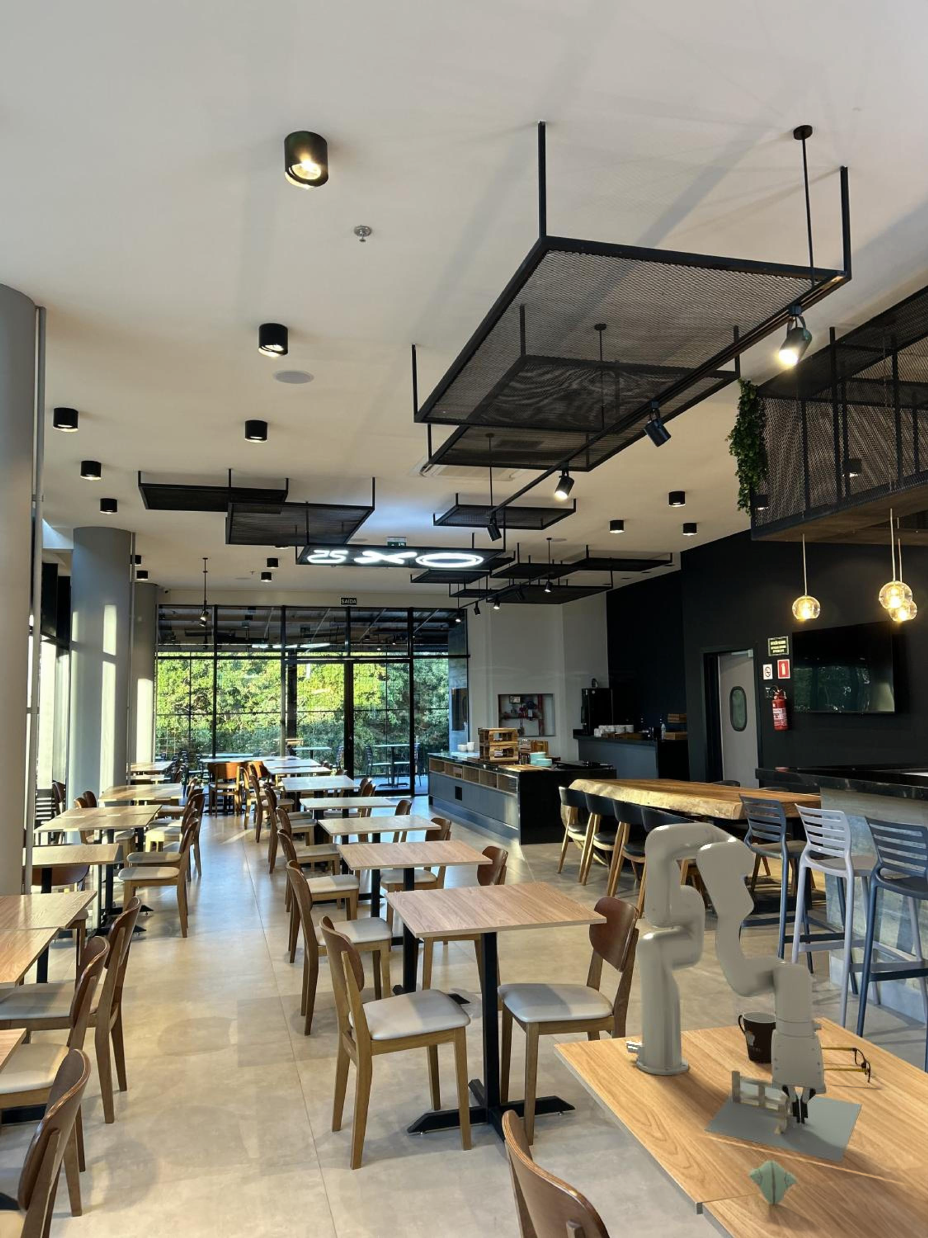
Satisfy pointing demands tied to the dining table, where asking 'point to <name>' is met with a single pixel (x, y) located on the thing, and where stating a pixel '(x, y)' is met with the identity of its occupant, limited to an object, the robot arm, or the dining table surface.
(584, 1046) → the dining table surface
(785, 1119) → the fence gate
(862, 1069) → the eyeglasses
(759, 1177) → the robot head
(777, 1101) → the fence section
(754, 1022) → the coffee mug
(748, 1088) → the card
